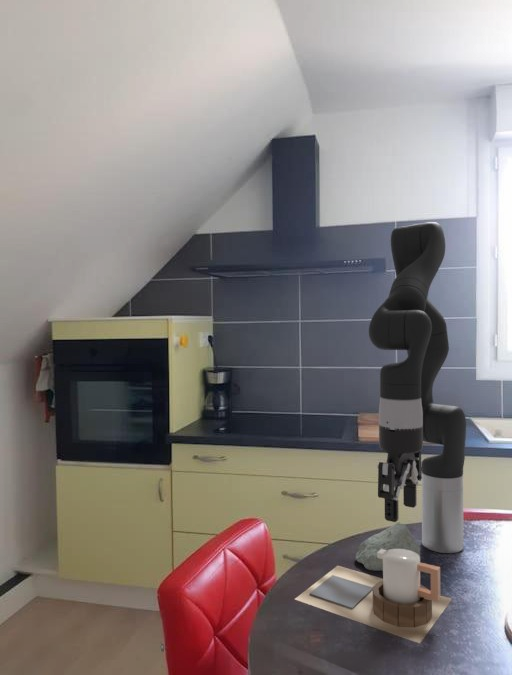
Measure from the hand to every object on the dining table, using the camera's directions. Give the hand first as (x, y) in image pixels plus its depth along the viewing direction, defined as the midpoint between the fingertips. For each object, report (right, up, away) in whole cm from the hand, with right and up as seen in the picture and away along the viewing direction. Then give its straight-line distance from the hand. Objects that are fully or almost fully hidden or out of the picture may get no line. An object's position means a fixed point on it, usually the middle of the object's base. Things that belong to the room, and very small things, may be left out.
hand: (401, 513), depth 96 cm
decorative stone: (+2, -19, +20) cm, 28 cm away
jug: (+1, -18, 0) cm, 18 cm away
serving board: (-4, -19, +5) cm, 20 cm away
